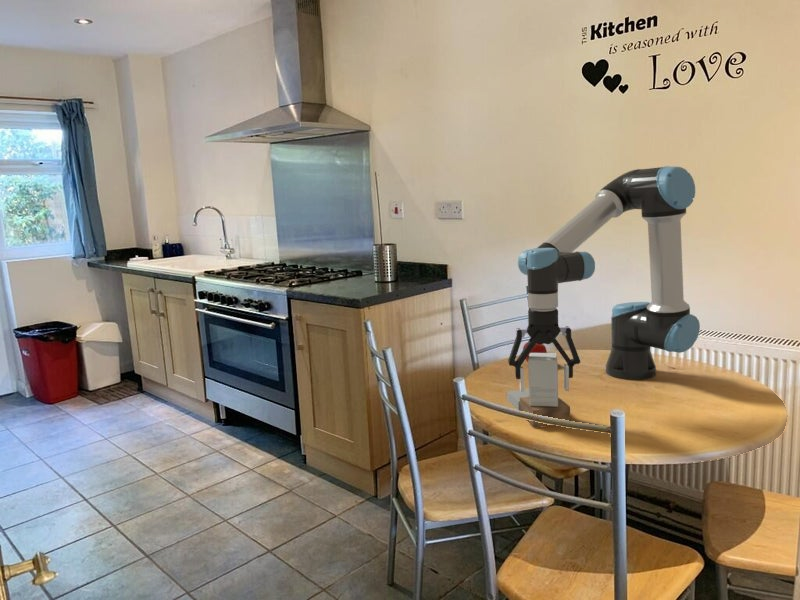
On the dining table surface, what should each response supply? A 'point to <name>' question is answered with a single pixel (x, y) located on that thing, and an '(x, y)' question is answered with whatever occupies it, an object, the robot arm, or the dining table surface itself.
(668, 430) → the dining table surface
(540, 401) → the supplement box
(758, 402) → the dining table surface
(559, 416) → the walnut block
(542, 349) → the apple
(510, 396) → the slate coaster
